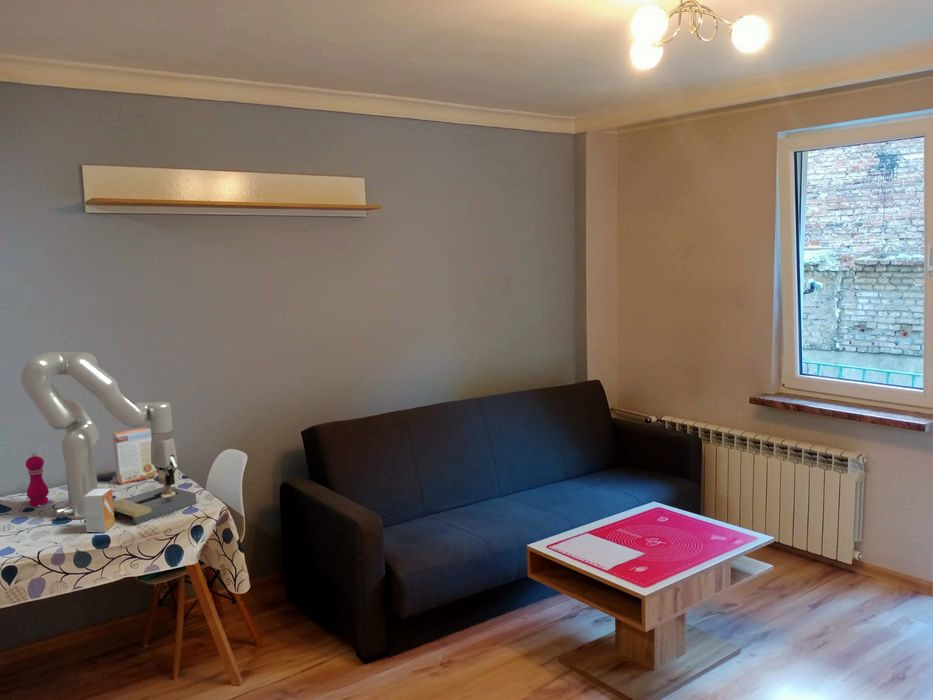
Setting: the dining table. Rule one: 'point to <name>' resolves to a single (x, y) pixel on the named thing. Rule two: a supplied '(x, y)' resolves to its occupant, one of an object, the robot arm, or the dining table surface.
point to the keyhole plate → (153, 504)
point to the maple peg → (163, 481)
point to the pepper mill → (36, 481)
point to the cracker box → (133, 455)
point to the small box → (99, 510)
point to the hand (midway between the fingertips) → (166, 483)
